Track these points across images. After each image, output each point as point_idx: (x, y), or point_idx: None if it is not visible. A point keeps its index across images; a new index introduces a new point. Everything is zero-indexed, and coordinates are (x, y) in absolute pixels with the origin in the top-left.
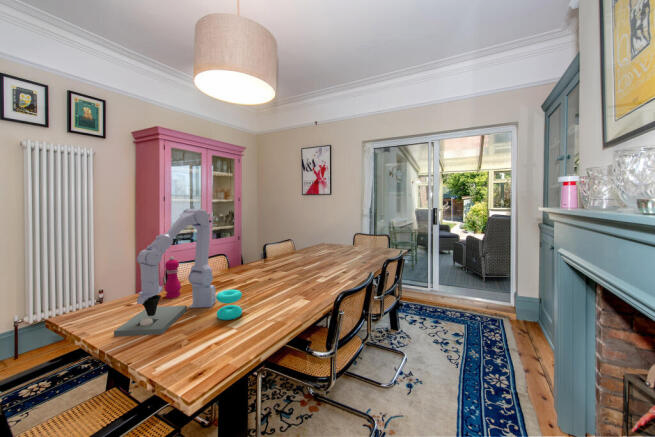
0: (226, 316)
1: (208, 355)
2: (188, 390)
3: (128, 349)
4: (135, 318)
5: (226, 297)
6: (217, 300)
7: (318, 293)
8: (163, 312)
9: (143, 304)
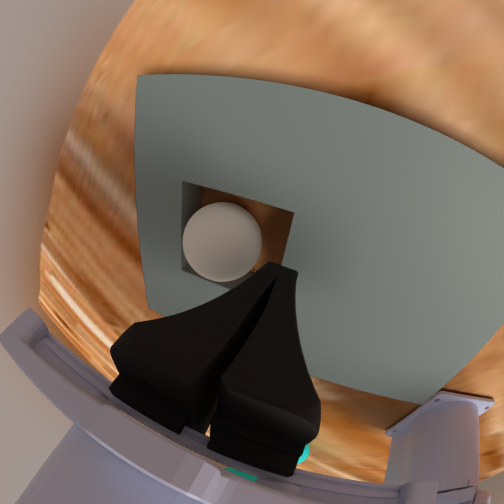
0: None
1: (97, 347)
2: (45, 306)
3: (77, 200)
4: (348, 138)
5: None
6: (235, 473)
7: None
8: (387, 325)
9: (175, 320)
